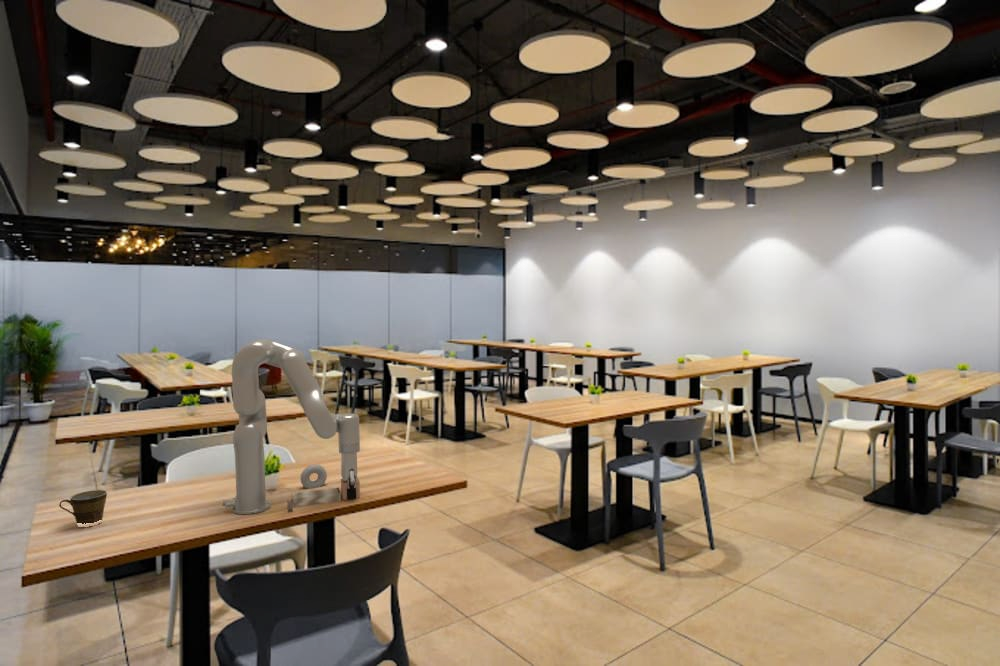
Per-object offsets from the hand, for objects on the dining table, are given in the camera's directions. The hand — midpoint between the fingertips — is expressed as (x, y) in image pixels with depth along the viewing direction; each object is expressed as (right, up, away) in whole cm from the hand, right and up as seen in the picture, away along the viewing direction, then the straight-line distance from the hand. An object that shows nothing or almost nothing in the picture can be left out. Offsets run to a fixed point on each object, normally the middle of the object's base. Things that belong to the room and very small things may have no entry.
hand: (350, 495), depth 214 cm
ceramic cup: (-82, -4, -22) cm, 85 cm away
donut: (-17, -1, +13) cm, 22 cm away
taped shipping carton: (0, 0, 0) cm, 0 cm away
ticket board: (-4, -2, -1) cm, 4 cm away
